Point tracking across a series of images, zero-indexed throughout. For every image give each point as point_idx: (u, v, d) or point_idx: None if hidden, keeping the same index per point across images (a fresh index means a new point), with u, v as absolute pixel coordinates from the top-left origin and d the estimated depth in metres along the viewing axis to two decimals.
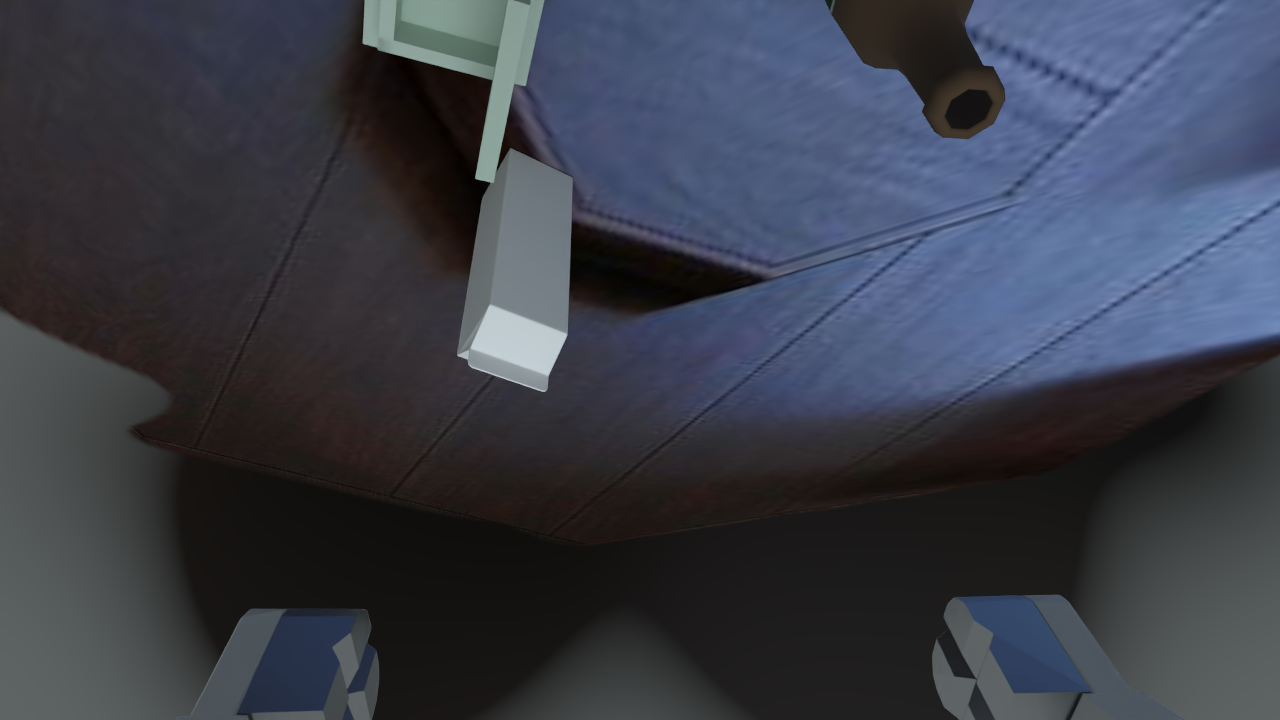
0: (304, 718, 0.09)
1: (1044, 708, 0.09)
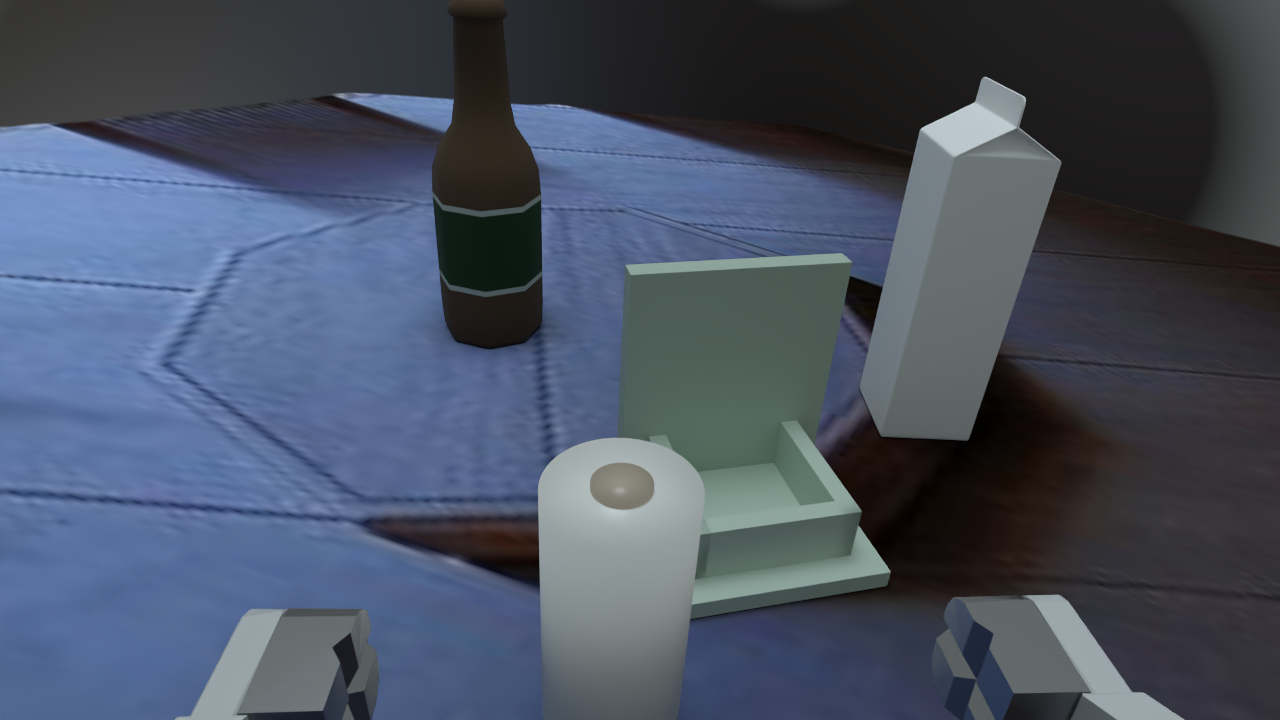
0: (304, 718, 0.09)
1: (1044, 708, 0.09)
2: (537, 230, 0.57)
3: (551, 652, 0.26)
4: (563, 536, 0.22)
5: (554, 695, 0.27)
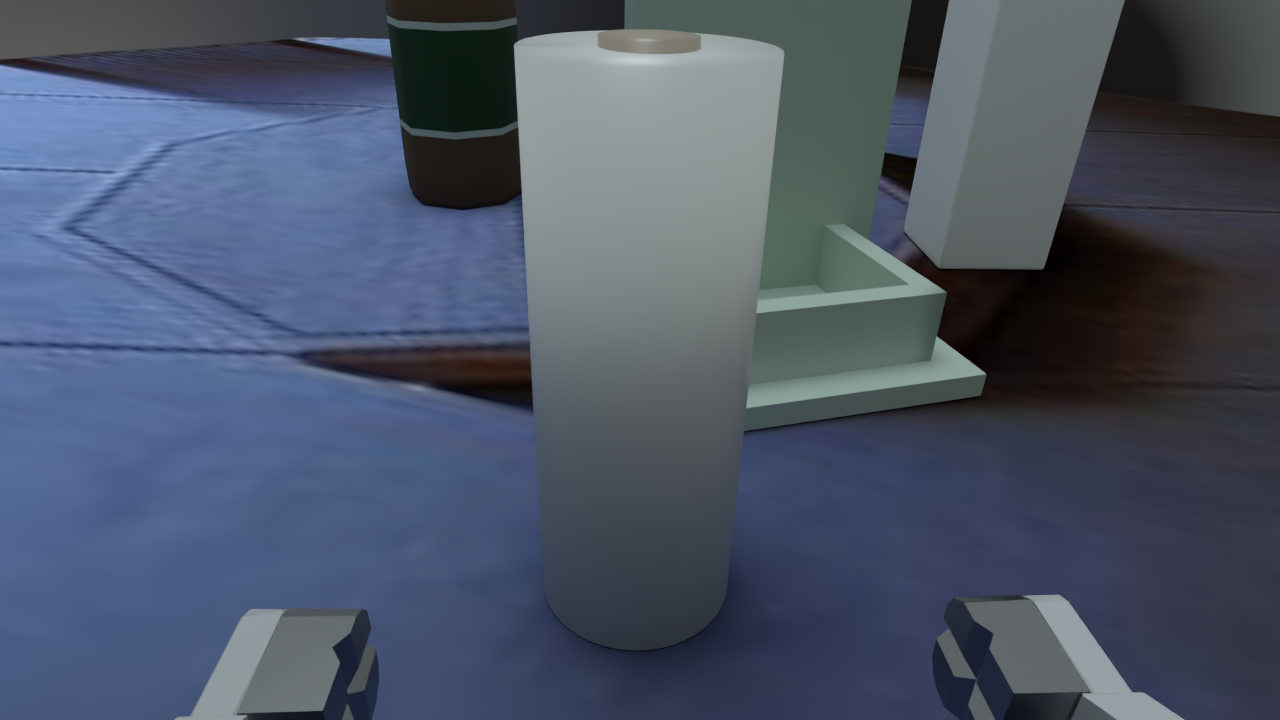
0: (304, 718, 0.09)
1: (1044, 708, 0.09)
2: (513, 62, 0.48)
3: (546, 352, 0.16)
4: (559, 72, 0.13)
5: (553, 434, 0.17)
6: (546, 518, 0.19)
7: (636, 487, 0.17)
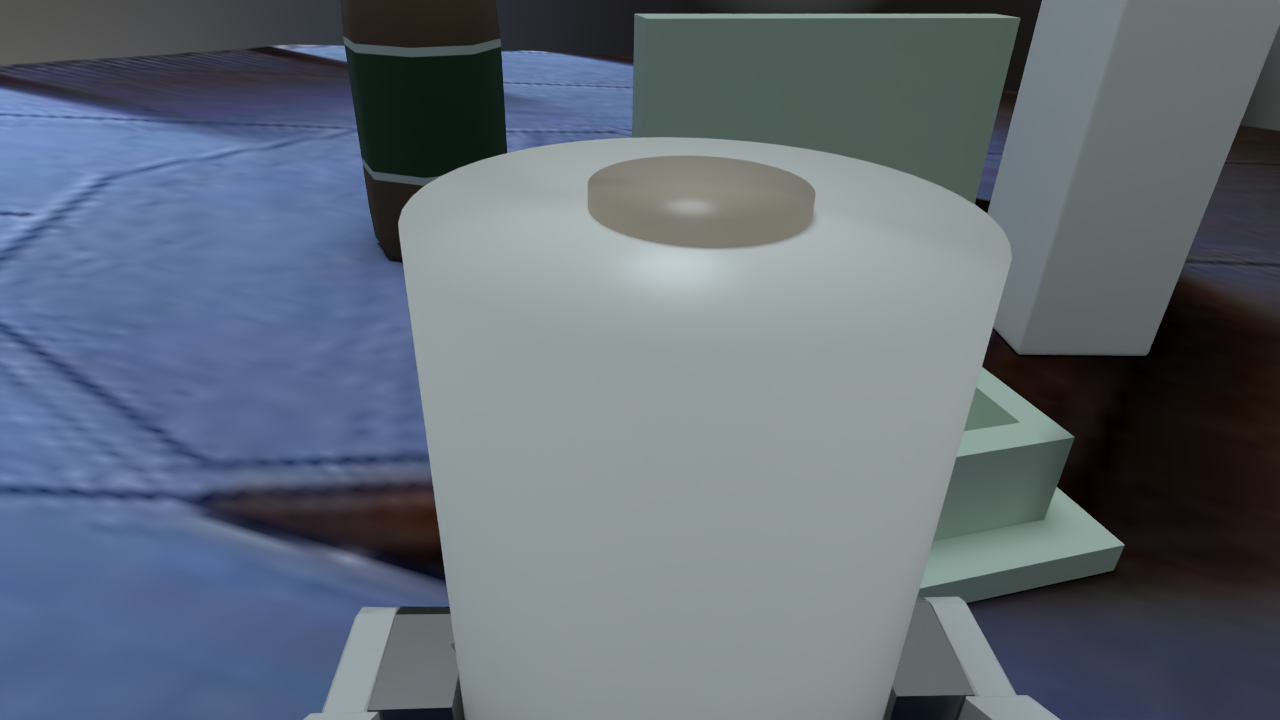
0: (433, 715, 0.09)
1: (929, 711, 0.09)
2: (497, 92, 0.40)
3: None
4: (484, 327, 0.05)
5: None
6: None
7: None
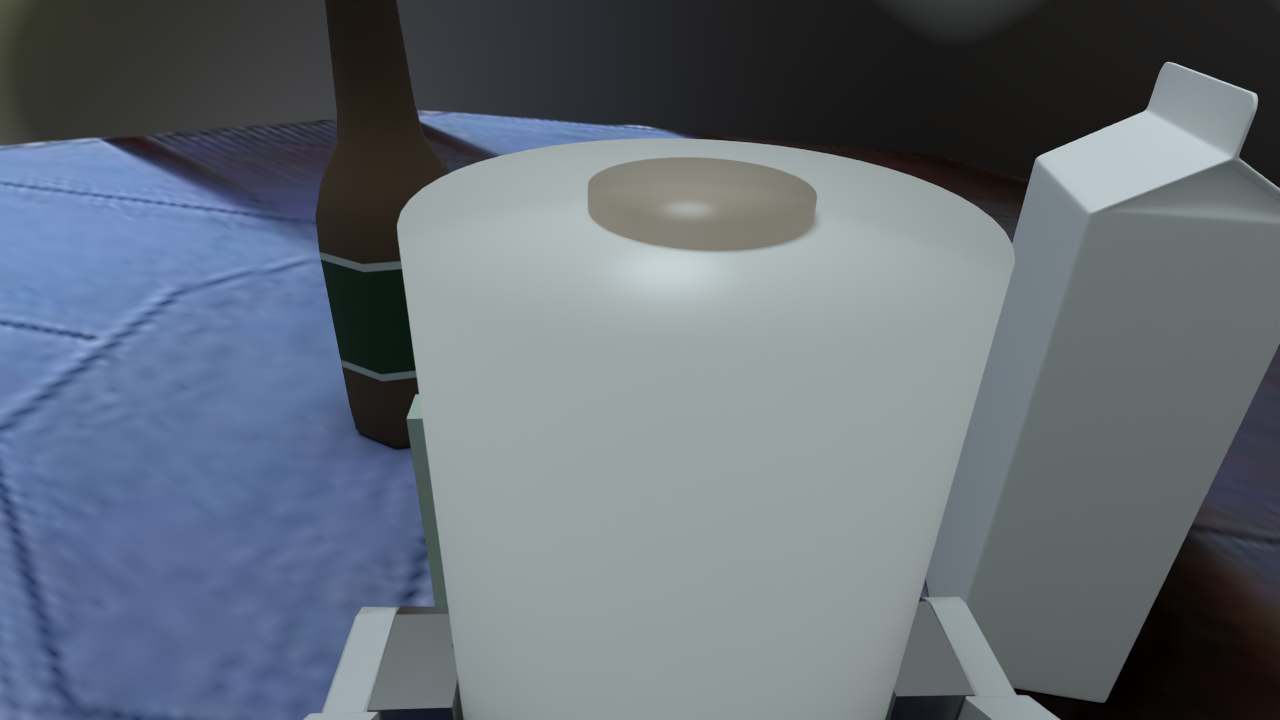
0: (433, 715, 0.09)
1: (929, 711, 0.09)
2: None
3: None
4: (482, 331, 0.05)
5: None
6: None
7: None
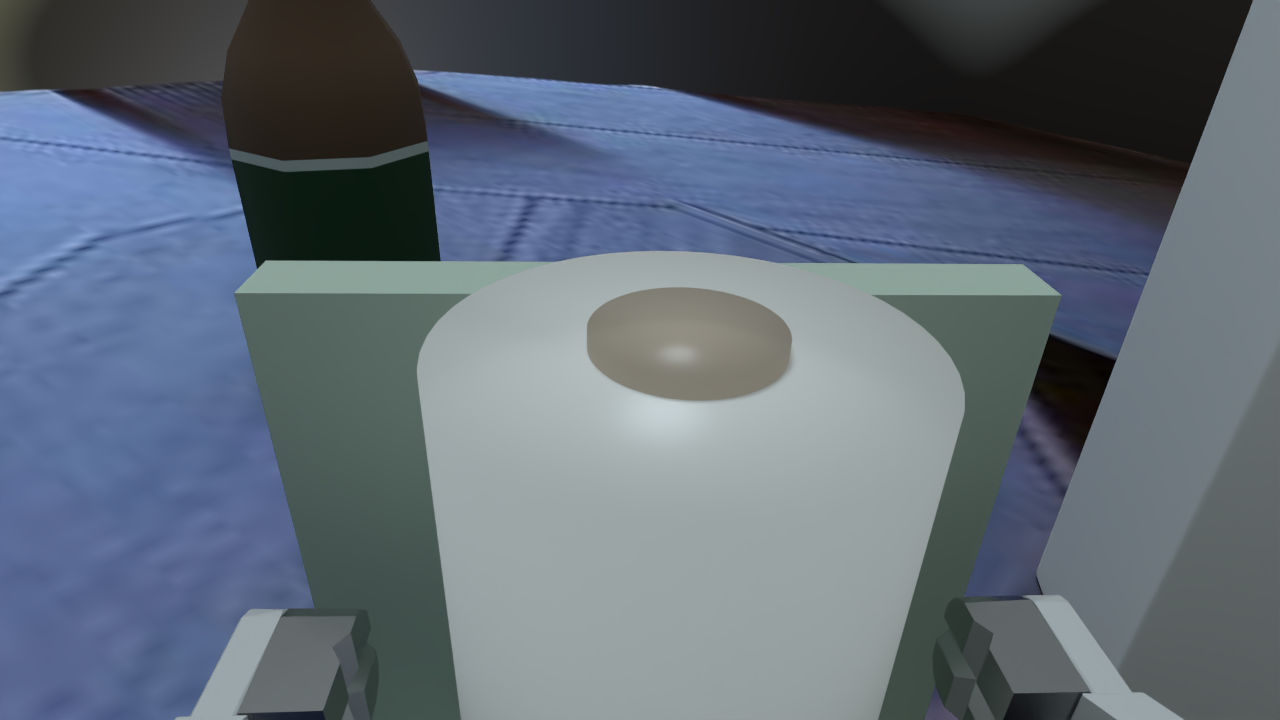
0: (305, 718, 0.09)
1: (1044, 708, 0.09)
2: (421, 208, 0.31)
3: None
4: (495, 491, 0.06)
5: None
6: None
7: None
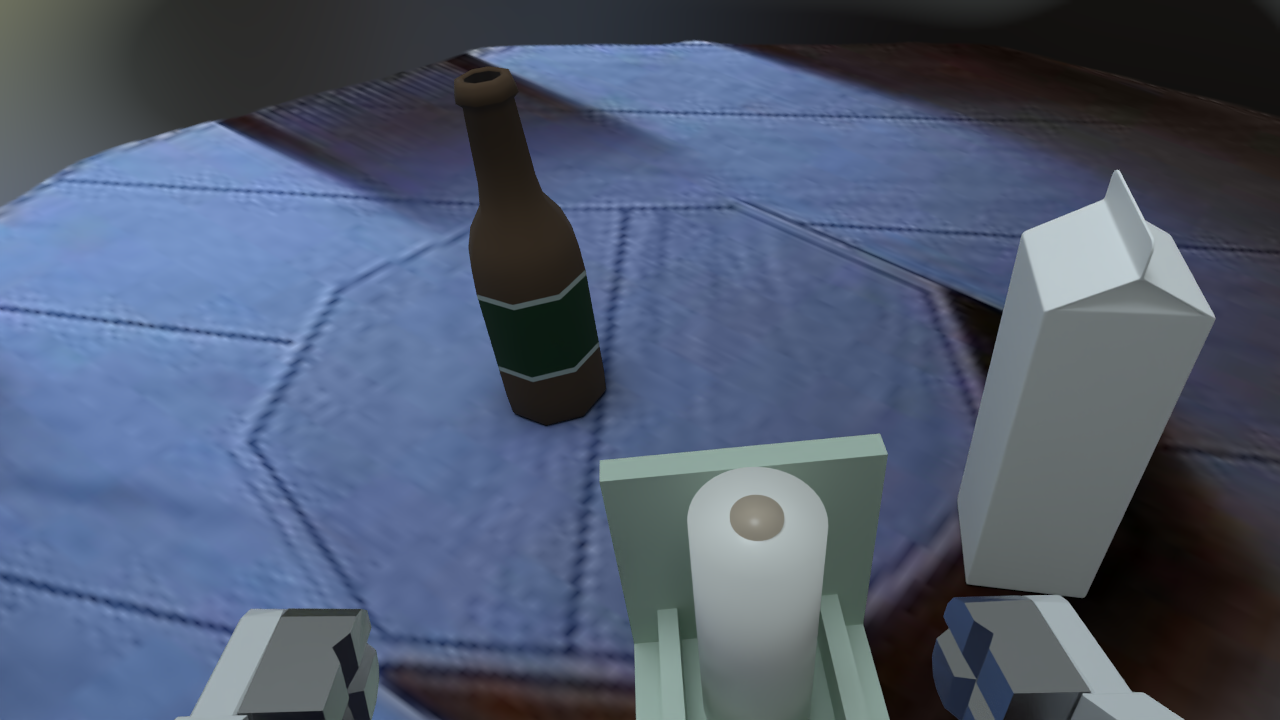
0: (304, 718, 0.09)
1: (1044, 708, 0.09)
2: (585, 307, 0.52)
3: (709, 644, 0.32)
4: (717, 570, 0.27)
5: (713, 672, 0.33)
6: (708, 694, 0.35)
7: (760, 700, 0.32)
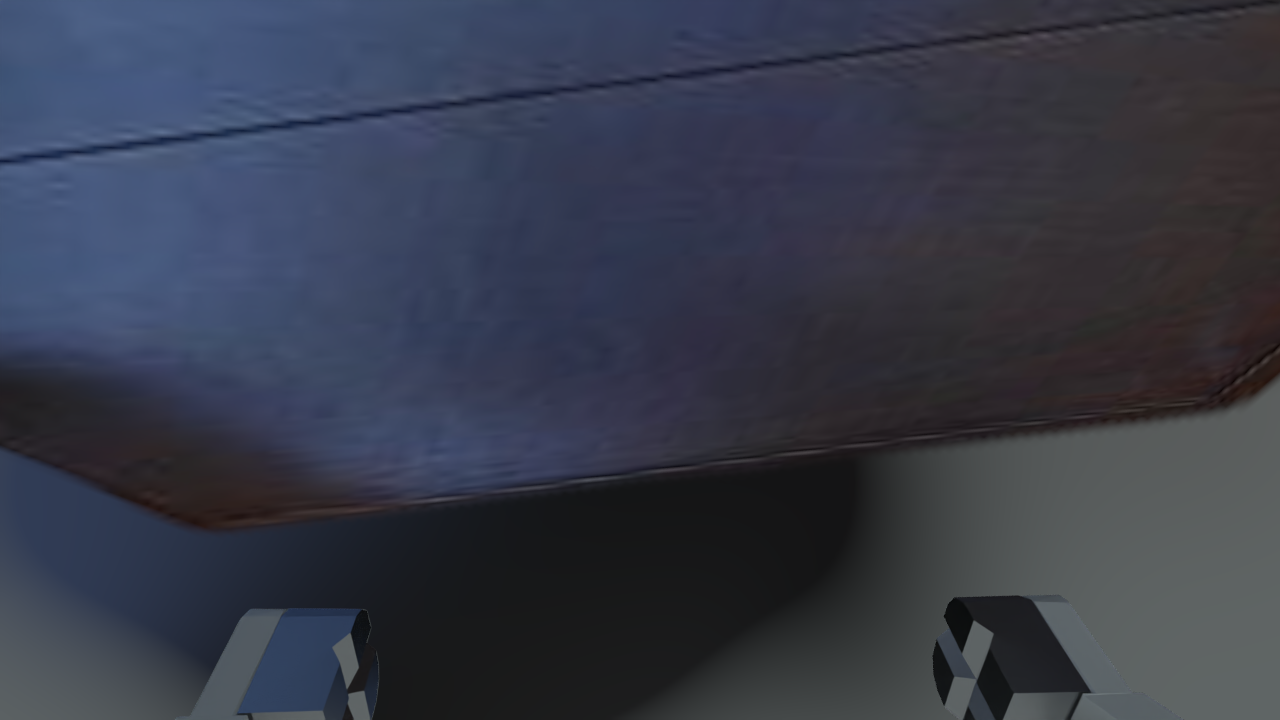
0: (304, 718, 0.09)
1: (1044, 708, 0.09)
2: None
3: None
4: None
5: None
6: None
7: None
